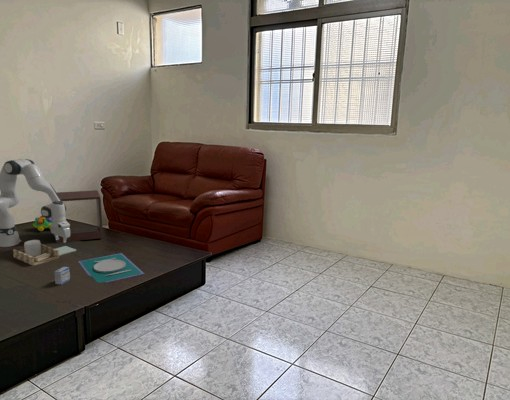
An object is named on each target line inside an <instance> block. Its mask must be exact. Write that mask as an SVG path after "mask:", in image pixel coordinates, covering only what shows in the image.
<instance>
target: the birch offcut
mask: <svg viewBox="0 0 510 400" xmlns="http://www.w3.org/2000/svg"><path fill="white" fill-rule="evenodd" d="M41 254H42V255H39V256H37V257H34V261H40V260H43V259H45V258H48V257H50V254H48V253H41Z"/></svg>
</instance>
